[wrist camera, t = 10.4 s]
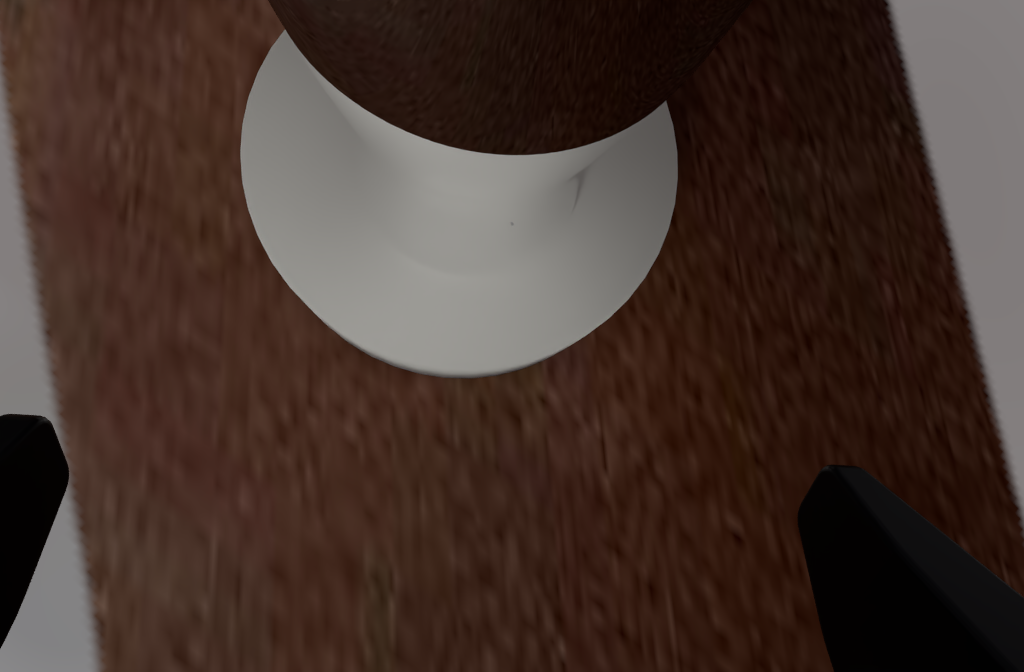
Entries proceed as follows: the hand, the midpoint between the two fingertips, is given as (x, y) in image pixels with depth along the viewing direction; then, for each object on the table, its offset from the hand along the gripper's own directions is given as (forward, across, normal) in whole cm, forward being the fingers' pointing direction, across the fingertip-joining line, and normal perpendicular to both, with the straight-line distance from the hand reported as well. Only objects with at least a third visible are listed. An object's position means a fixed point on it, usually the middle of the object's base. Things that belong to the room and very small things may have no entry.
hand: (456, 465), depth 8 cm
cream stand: (+15, 0, +3) cm, 15 cm away
